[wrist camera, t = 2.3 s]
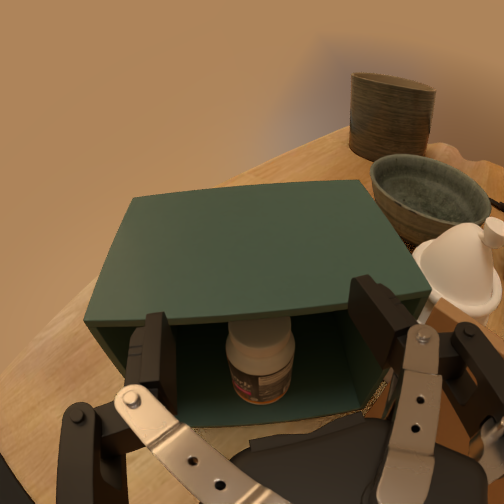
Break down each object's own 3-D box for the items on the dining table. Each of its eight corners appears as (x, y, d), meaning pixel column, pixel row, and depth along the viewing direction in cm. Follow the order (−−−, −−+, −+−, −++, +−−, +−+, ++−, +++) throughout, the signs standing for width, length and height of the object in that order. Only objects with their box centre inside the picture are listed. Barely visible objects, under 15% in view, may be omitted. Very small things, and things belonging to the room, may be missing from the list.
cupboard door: (398, 378, 28) (467, 255, 17) (515, 465, 16) (629, 384, 5) (362, 418, 25) (434, 305, 14) (489, 512, 13) (621, 453, 2)
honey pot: (479, 353, 28) (554, 234, 17) (413, 418, 24) (514, 297, 13) (415, 290, 37) (456, 167, 26) (343, 334, 33) (377, 191, 22)
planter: (410, 176, 63) (423, 93, 50) (332, 148, 76) (335, 74, 63) (433, 155, 74) (443, 89, 62) (368, 132, 87) (373, 71, 74)
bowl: (451, 207, 53) (463, 163, 46) (487, 280, 37) (513, 228, 31) (356, 195, 56) (362, 147, 50) (367, 270, 41) (382, 209, 34)
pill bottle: (222, 374, 30) (206, 314, 23) (269, 348, 32) (268, 283, 26) (253, 417, 26) (245, 368, 20) (302, 386, 28) (313, 328, 22)
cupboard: (363, 408, 26) (433, 289, 15) (166, 427, 26) (82, 320, 15) (335, 310, 36) (358, 179, 25) (174, 324, 36) (132, 197, 25)
